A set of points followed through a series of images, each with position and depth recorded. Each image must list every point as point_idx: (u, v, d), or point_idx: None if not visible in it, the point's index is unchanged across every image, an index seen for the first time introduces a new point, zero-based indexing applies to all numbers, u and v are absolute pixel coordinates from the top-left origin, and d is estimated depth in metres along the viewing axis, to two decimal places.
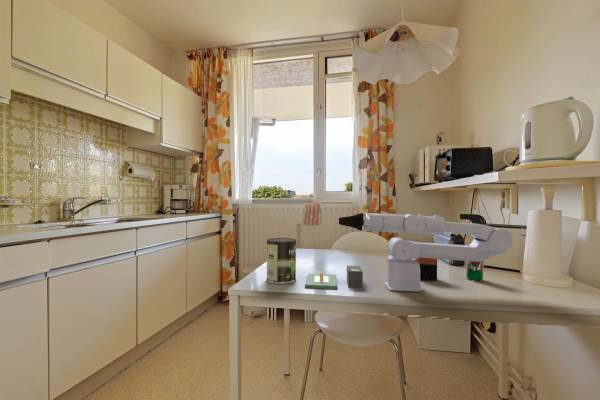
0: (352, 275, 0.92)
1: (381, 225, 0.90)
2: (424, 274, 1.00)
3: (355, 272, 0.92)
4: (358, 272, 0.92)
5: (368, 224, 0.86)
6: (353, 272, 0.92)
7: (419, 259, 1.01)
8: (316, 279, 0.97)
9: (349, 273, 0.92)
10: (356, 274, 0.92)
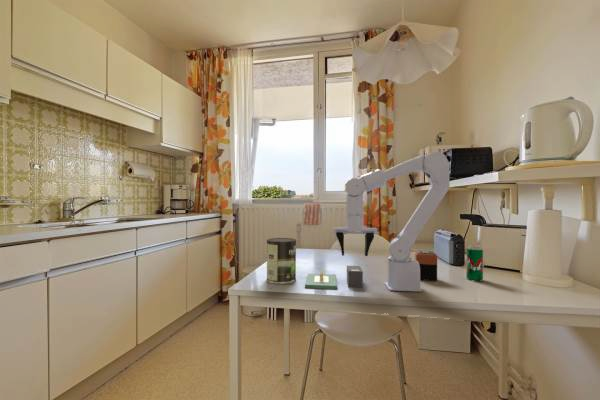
0: (352, 275, 0.92)
1: (346, 216, 0.96)
2: (424, 274, 1.00)
3: (355, 272, 0.92)
4: (358, 272, 0.92)
5: None
6: (353, 272, 0.92)
7: (419, 259, 1.01)
8: (316, 279, 0.97)
9: (349, 273, 0.92)
10: (356, 274, 0.92)
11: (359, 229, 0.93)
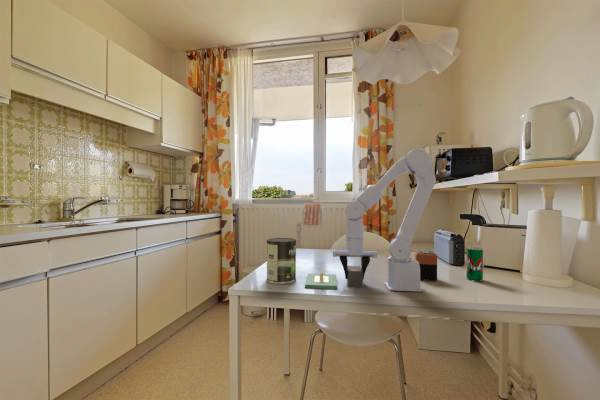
0: (352, 275, 0.92)
1: (346, 239, 0.96)
2: (424, 274, 1.00)
3: (355, 272, 0.92)
4: (358, 272, 0.92)
5: None
6: (353, 272, 0.92)
7: (419, 259, 1.01)
8: (316, 279, 0.97)
9: (349, 273, 0.92)
10: (356, 274, 0.92)
11: (359, 253, 0.93)
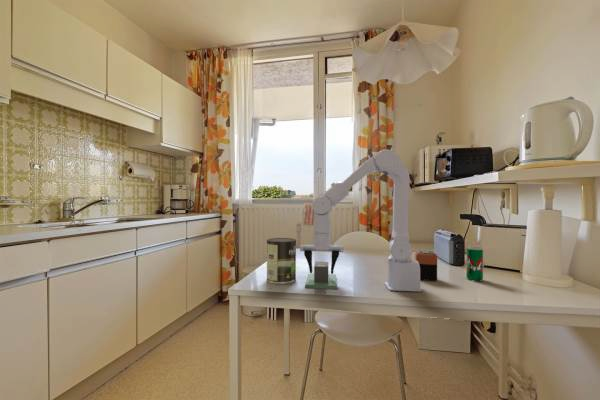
0: (318, 270, 0.93)
1: (313, 234, 0.97)
2: (424, 274, 1.00)
3: (321, 268, 0.93)
4: (324, 268, 0.93)
5: (300, 247, 0.97)
6: (319, 268, 0.93)
7: (419, 259, 1.01)
8: None
9: (315, 269, 0.93)
10: (321, 269, 0.93)
11: (325, 247, 0.94)
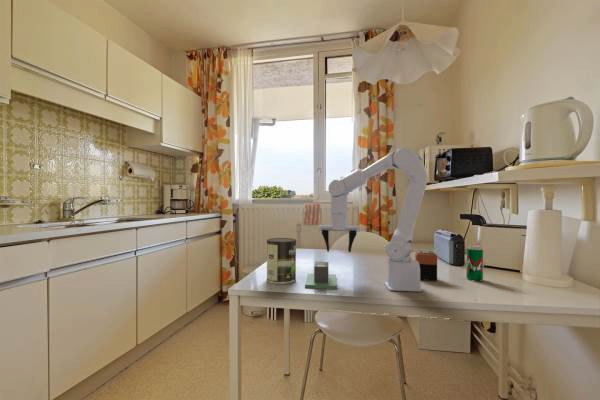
0: (318, 270, 0.93)
1: (331, 215, 1.03)
2: (424, 274, 1.00)
3: (321, 268, 0.93)
4: (324, 268, 0.93)
5: None
6: (319, 268, 0.93)
7: (419, 259, 1.01)
8: None
9: (315, 269, 0.93)
10: (321, 269, 0.93)
11: (342, 227, 1.01)
